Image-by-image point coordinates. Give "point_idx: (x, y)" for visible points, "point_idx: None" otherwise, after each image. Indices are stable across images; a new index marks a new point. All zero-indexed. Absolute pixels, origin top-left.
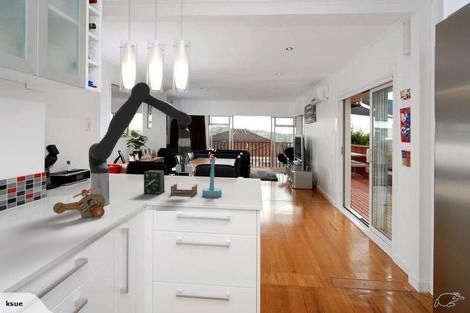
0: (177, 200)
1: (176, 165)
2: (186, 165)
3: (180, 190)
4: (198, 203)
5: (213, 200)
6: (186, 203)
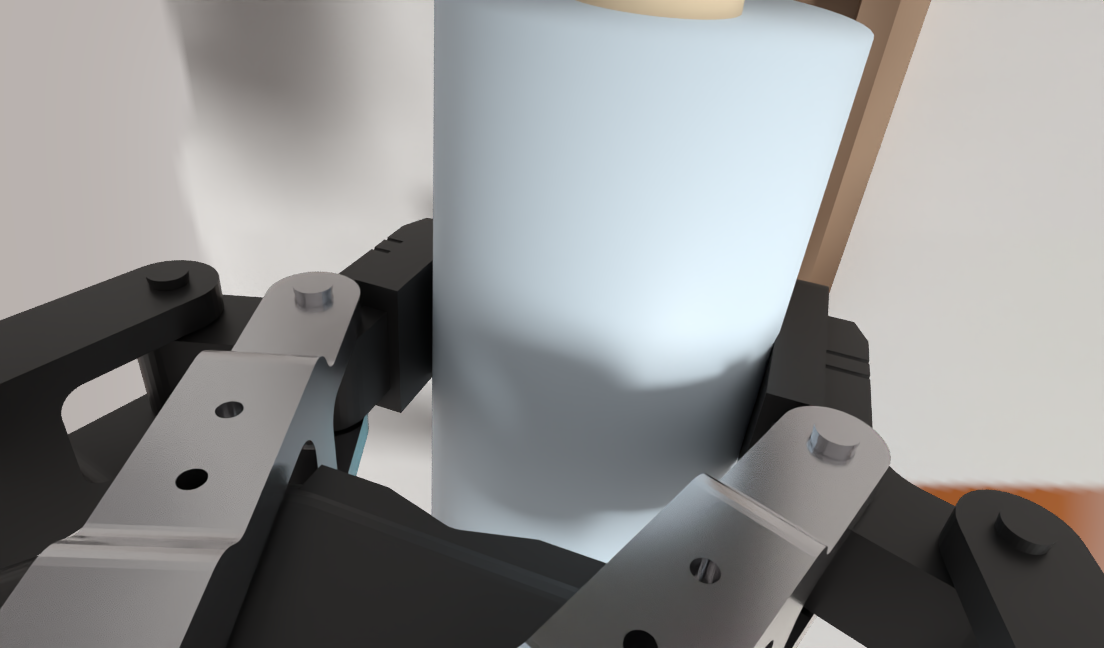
0: (291, 42)
1: (462, 23)
2: (460, 487)
3: (855, 14)
4: (230, 294)
5: (383, 441)
6: (192, 173)
